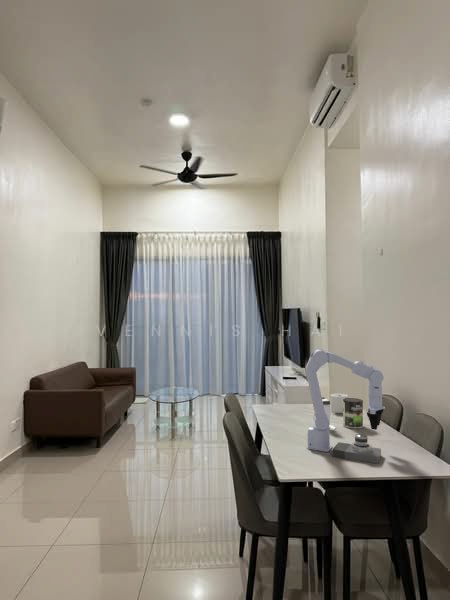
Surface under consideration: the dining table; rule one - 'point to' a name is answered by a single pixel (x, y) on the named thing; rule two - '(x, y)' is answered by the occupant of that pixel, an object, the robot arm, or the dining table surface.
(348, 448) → the camera body
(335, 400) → the toilet tissue
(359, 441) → the lens
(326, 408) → the panda figurine
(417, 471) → the dining table surface
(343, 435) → the dining table surface
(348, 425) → the coffee can
